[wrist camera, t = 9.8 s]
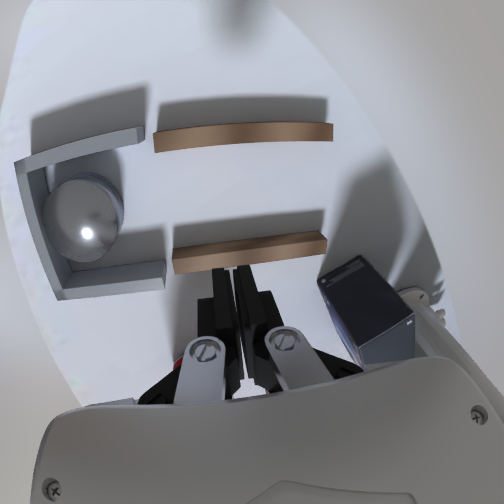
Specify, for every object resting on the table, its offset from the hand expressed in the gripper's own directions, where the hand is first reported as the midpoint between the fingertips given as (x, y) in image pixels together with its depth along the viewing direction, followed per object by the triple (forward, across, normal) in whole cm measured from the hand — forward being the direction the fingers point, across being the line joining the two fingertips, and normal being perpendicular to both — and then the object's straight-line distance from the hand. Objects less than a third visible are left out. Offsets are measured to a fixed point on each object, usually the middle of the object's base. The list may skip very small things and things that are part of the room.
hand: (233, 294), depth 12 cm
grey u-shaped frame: (+12, +10, -1) cm, 16 cm away
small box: (+14, -14, +13) cm, 24 cm away
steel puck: (+12, +12, -2) cm, 17 cm away
